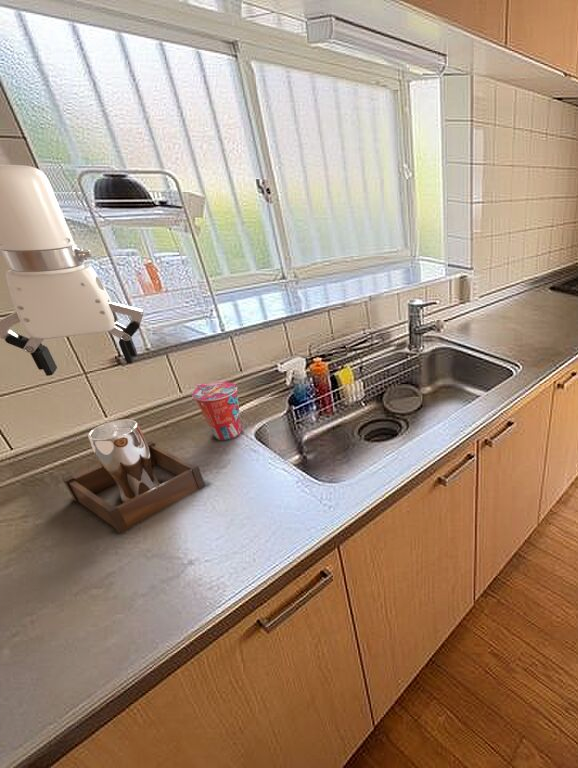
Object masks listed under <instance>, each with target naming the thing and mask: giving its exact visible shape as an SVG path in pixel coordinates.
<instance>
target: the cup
mask: <svg viewBox="0 0 578 768" xmlns="http://www.w3.org/2000/svg"><path fill="white" fill-rule="evenodd" d="M191 397H192V398H193V399H194V400H195V401H196V403H197V405H198V407H199V409H200V412H201V413H202V415H203V416H204V419H205V421H206V422H207V424H208V426H209V428H210V430H211V432H212V434H213V435H214V438H215V439H217V440H221V441H224V440H230V439H233V438H235V437H237V436H239V435H240V434H241V433H242V424H241V413H240V411H241V410H240V405H239V404H240V403H239V397H238V385H237V384H236V383H235V382H229V381H220V382H218V381H217V382H207V383H202V384H199V385H197V387H196V388H195V389H194V390H193V392H192V394H191Z"/></svg>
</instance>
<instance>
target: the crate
mask: <svg viewBox="0 0 578 768" xmlns="http://www.w3.org/2000/svg"><path fill="white" fill-rule="evenodd" d="M147 444H148V447H149V451H150V457H151V464H152V467H153V466H155V465H157V466H159V467H161V468H163V469H165V470H166V471H168V472H170V473H172V474H174V475H176V476H174V477H172V478H170V479H168V480H166V481H164V482H162V483H160V485H158V486H156V487H154V488H152V489H150V490H148V491H146V492H144V493H142V494H140V495H138V496H137V497H135V498H133V499H131V500H129V501H127V502H125V503H124V502H122V503H121V504H119V505H115V504H112V505H111V504H110V503H108V502H107V501H106V500H104V499H103V498H101V497H99V496H98V495H96V493H99V492H100V491H103V490H105V489H107V488H109V487H111V486H113V485H115V484H116V483H115V481H114V480H113V479H112V478H111V477H110V476H109V475H108V473H107V472H106V471H105V470H104V469H103V467H102V466H101V465H99V466H97V467H94V468H92V469H90V470H88V471H85V472H83V473H81V474H78V475H76V476H74V477H73V475H69V476H68V477H65V478H63V479H62V481H63V483H64V484H65V486H66V489H67V490H68V492H69V493H70V496H71V497H72V499H73V501H75V502H76V503H80V505H83V506H84V507H86V508H87V509H88V510H89V511H91V512H93V514H95V515H96V516H98V517H100V518H101V519H102V520H103V521H105V522H107V523H108V524H109V525H111V526H112V527H114V529H115V530H116V531H117V532H118V533H119V534H122V533H123V532H125V531H126V530H128V529H129V528H130V527H132V526H134V525H136V524H138V523H140V522H141V521H143V520H145V519H147V518H148V517H150V516H152V515H154V514H155V513H157V512H159V511H162V510H163V509H165V508H166V507H168V506H170V505H172V504H173V503H176V502H178V501H179V500H181V499H183V498H184V497H187V496H188V495H190V494H191V493H193V492H195V491H197V490H200V489H202V488H204V487H206V483H205V481H204V479H203V475H202V472H201V470H200V469H201V468H200V467H199V465H197V464H196V463H195V464H191V463H190V462H187V461H185V460H183V459H182V458H180V457H178V456H176V455H174V454H172V453H171V452H169V451H168V450H167V451H166V450H165V449H163V448H161V447H160V446H158V445H156V442H154V441H152V440H151V441H148V442H147Z"/></svg>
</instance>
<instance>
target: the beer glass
mask: <svg viewBox="0 0 578 768" xmlns="http://www.w3.org/2000/svg"><path fill="white" fill-rule="evenodd" d="M87 437H88V440H89V443H90V446H91V448H92V451H93V453H94V455H95V457H96V459H97V462H98V464H100V466H102V467H103V469H104V470H105V471H106V472H107V473H108V475H109V476H110V477H111V478H112V479H113V480H114V481H115V484H116V486H117V488H118V490H119V495H120V496H119V497H120V500H121V502H122V503H125V502H127V501H129V500H131V499H133V498H135V497H137V496H138V495H140V494H142V493H144V492H146V491H148V490H150V489H152V488H154V487H156V486H158V485H160V484H161V482H160V481H159V480H158V479H157V477H156V475H155V473H154V470H153V466H152V464H151V457H150V451H149V447H148V444H147V443H148V442H147V439H146V437H145V435H144V433H143V432H142V430H141V428H140V426H139V425H138V422H137V421H136V420H134V419H127V418H126V419H124V418H123V419H117V420H116V419H115V420H111V421H108V422H105V423H101V424H100V425H98V426H96V427H94V428H92V429H91V430H90V431H89V432H88V434H87Z"/></svg>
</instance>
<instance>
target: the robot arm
mask: <svg viewBox="0 0 578 768" xmlns="http://www.w3.org/2000/svg"><path fill="white" fill-rule="evenodd" d="M74 241H75V240H74V239H73V236H72V234H71V231H70V229H69V226H68V225H67V222H66V219H65V217H64V215H63V212H62V210H61V207H60V205H59V202H58V200H57V197H56V196H55V193H54V190H53V188H52V186H51V183H50V181H49V179H48V177H47V175H46V174H45V173H44V172H43V171H42V170H41V169H39V168H36V167H35V166H30V165H23V164H4V163H0V252H1V254H2V256H3V258H4V260H5V262H6V264H7V266H8V268H9V270H7V271H6V272H5V278H6V285H7V287H8V292H9V295H10V298H11V301H12V304H13V307H14V310H15V311H14V312H12V313H11V314H8V315H6V316H4V317H2V318H1V319H0V339H3V340H4V342H5V343H6V344H8V345H11V346H14V347H17V348H19V349H22V350H23V351H24V352H25V353H28V354H30V356H31V357H32V360H33V361H34V363H35V365H36V368H37V369H38V370H39V371H43V372H44V374H45V376H46V377H48V376H49V377H50V376H53V375H54V374H55V373H56V371H57V369H58V366H57V364H56V362H55V360H54V358H53V356H52V354H51V351H50V350H49V347H48V346H46V345H45V344H44V345H43V341H44V340H50V339H59V338H69V337H76V336H84V335H92V334H93V335H94V334H100V333H101V334H102V333H106V332H107V333H109V334H111V335H113V336H115V338H119V340H118V345H119V348H120V350H121V353H122V355H123V357H124V360H125V362H126V364H128V365H130V364H134V360H135V357H138V351H137V349H136V346H135V343H134V340H133V338H132V337H133V336H134V335H135V333H136V332H137V331H138V330H139V329H140V326H141V322H142V320H143V316H144V312H145V311H144V310H143V309H141V308H138V307H134V306H130V305H127V304H122V303H119V302H118V303H117V302H115V301H112V300H111V297H110V295H109V293H108V291H107V289H106V287H105V286H104V284H103V282H102V280H101V279H100V277H99V275H98V274H97V272H96V271H95V269H94V268H93V266H92V265H90V264H83V263H84V262H85V261H87V260H93V259H94V255H93V252H92V251H91V249H83V248H80V247H78V245H77V244H75V242H74ZM118 314H121V315H125V316H129V317H130V318H131V319H130V321H129V323H128V324H127V326H125V325H123V324H121V323H119V322H118V321H119V316H118ZM18 323H20V324H21V326H22V328H23V330H24V332H25V333H26V334H27V335H28V336H29V337H30V338H29V337H26V336H24V335H22V334H20V333H16V332H14V330H12V329H11V327H13V326H15V325H16V324H18Z"/></svg>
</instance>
